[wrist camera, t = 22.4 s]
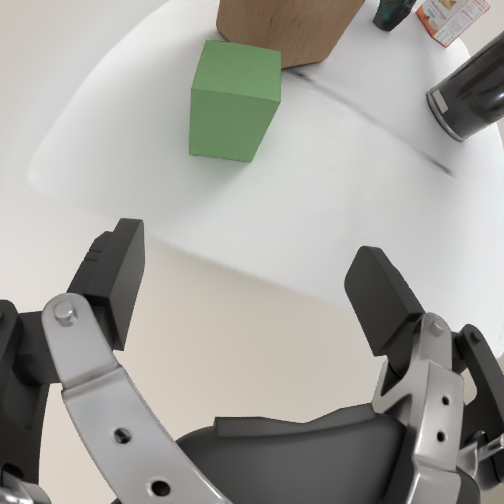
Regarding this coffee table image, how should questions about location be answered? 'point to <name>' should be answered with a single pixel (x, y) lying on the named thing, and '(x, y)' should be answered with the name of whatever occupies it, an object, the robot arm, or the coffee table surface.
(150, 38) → the coffee table surface
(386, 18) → the ceramic cat
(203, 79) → the green block
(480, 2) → the cracker box
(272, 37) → the wooden block
